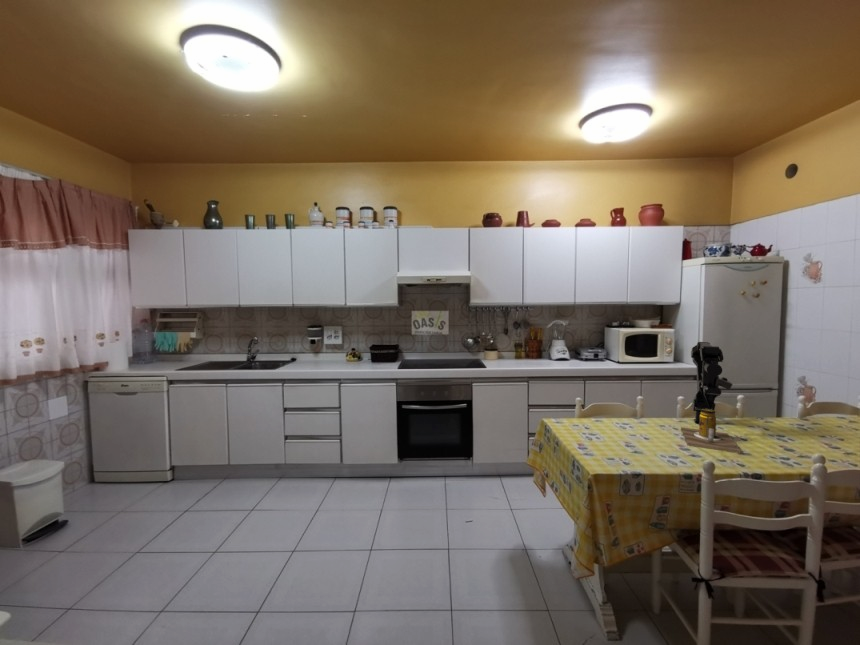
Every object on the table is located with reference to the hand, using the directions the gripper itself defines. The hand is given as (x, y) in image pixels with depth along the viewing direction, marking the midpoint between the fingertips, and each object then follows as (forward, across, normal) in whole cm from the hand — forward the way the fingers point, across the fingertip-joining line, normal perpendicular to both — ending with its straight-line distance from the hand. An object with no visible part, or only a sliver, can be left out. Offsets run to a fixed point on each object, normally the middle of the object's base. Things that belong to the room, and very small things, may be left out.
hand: (708, 404), depth 177 cm
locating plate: (+13, -14, +2) cm, 19 cm away
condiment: (+12, -12, +1) cm, 17 cm away
